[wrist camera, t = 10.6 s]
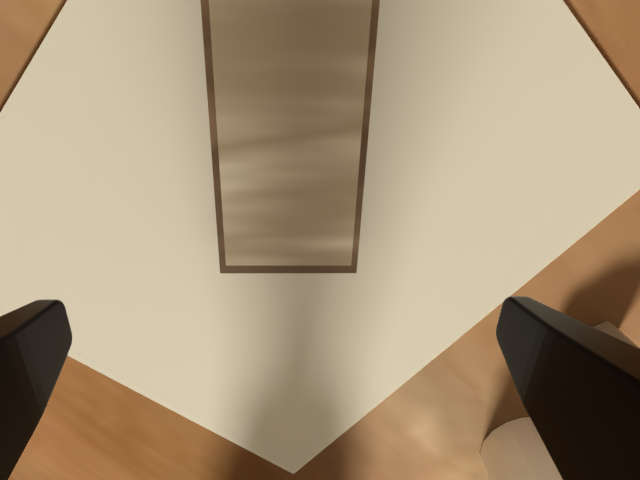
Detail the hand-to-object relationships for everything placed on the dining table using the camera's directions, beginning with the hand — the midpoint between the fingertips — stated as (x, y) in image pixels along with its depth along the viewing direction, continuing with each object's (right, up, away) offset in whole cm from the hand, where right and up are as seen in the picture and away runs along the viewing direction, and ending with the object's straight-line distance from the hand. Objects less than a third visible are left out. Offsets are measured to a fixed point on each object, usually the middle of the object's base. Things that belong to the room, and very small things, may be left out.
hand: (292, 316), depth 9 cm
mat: (-1, +3, +12) cm, 12 cm away
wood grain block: (-1, +1, +11) cm, 11 cm away
